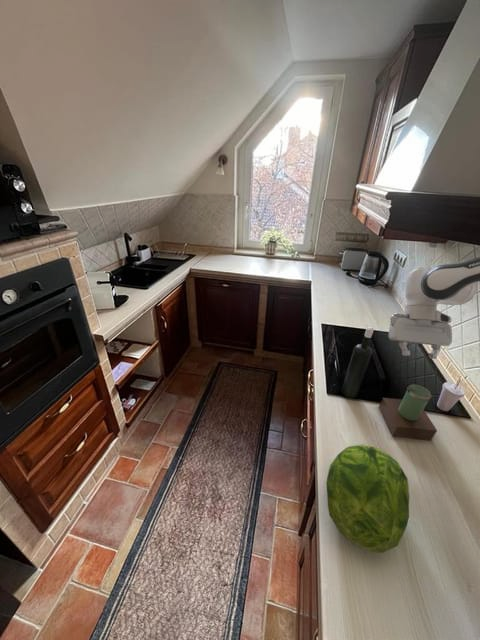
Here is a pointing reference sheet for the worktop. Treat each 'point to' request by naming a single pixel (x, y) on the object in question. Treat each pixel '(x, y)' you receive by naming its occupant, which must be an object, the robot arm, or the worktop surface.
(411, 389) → the green tin
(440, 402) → the smoothie
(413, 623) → the worktop surface
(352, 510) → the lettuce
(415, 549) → the worktop surface
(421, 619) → the worktop surface
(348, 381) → the wine bottle
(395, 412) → the walnut block
